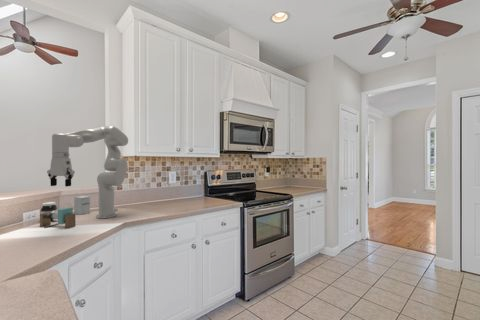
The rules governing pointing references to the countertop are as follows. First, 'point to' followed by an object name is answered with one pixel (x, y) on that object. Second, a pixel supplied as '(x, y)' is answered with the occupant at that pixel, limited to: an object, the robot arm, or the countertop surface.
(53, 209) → the spread jar
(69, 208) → the teal flat block
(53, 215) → the brown wooden rack
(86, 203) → the supplement box
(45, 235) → the countertop surface
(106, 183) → the robot arm
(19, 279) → the countertop surface
